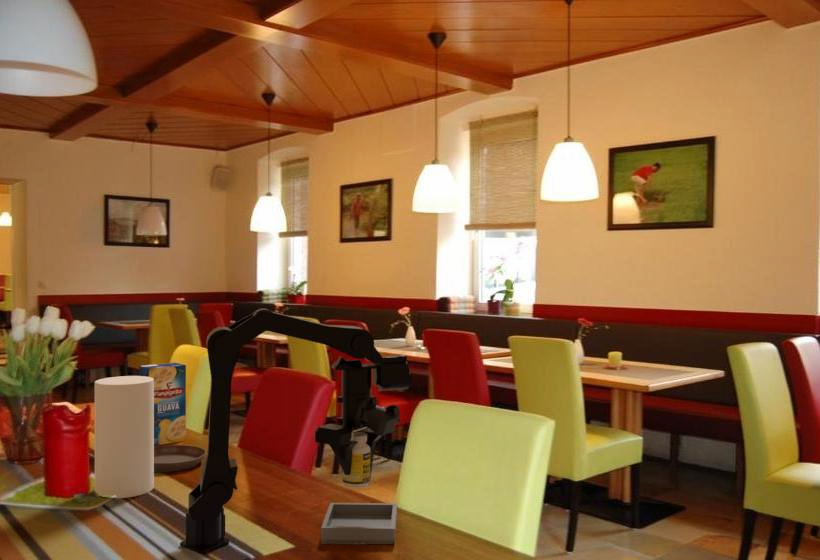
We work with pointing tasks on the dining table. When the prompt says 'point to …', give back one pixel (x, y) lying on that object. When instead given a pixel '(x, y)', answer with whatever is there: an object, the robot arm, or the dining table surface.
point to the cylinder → (124, 436)
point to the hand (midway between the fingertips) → (356, 471)
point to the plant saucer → (177, 457)
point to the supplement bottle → (359, 463)
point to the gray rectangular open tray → (359, 523)
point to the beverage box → (168, 401)
